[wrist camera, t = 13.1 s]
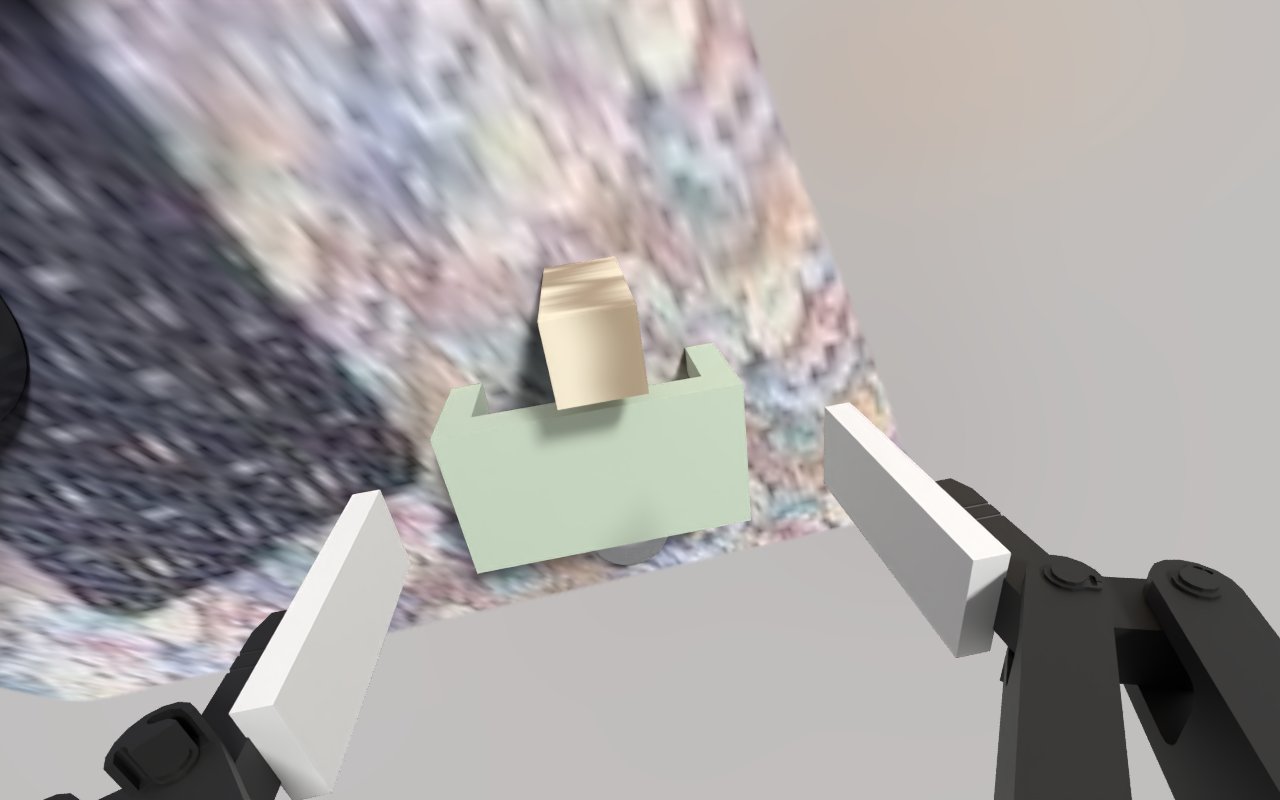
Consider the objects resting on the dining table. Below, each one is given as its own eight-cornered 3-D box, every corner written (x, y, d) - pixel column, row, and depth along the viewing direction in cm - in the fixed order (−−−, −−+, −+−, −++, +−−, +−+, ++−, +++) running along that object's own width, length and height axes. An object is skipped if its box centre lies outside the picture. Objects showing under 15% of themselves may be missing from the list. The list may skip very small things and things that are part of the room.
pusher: (593, 500, 43) (603, 610, 33) (543, 268, 35) (537, 322, 25) (650, 489, 43) (677, 595, 33) (615, 256, 35) (636, 305, 25)
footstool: (489, 507, 42) (477, 573, 36) (451, 388, 37) (430, 440, 31) (722, 463, 43) (750, 520, 37) (713, 342, 38) (743, 383, 32)
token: (597, 558, 46) (598, 571, 44) (584, 499, 43) (585, 511, 42) (668, 544, 46) (671, 556, 45) (660, 485, 43) (663, 496, 42)
